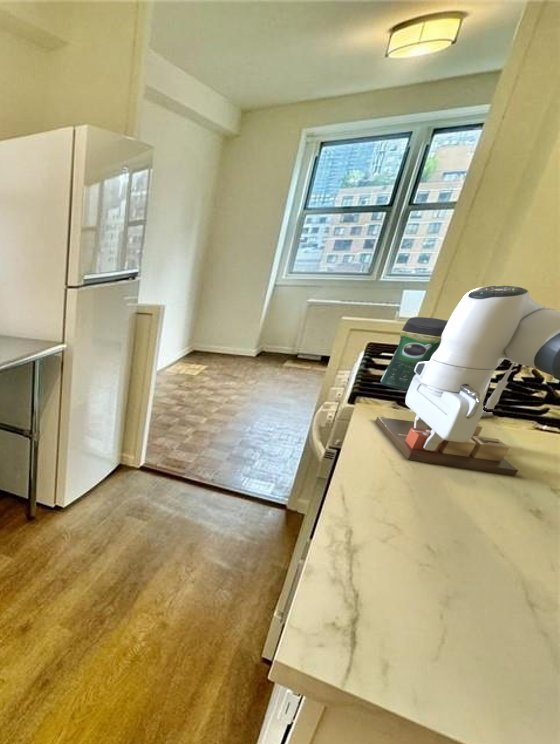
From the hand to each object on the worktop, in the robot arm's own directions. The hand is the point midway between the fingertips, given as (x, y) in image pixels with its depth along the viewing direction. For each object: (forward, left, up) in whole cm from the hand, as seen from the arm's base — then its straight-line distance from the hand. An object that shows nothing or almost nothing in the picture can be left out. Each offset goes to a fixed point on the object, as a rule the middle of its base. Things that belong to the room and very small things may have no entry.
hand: (422, 443), depth 97 cm
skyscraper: (-18, -31, -2) cm, 36 cm away
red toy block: (0, 0, -1) cm, 1 cm away
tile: (-5, 0, -1) cm, 5 cm away
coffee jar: (-11, -46, -2) cm, 47 cm away
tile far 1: (-10, 0, -1) cm, 10 cm away
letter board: (-5, -5, -2) cm, 7 cm away
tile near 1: (-10, -10, -1) cm, 14 cm away
